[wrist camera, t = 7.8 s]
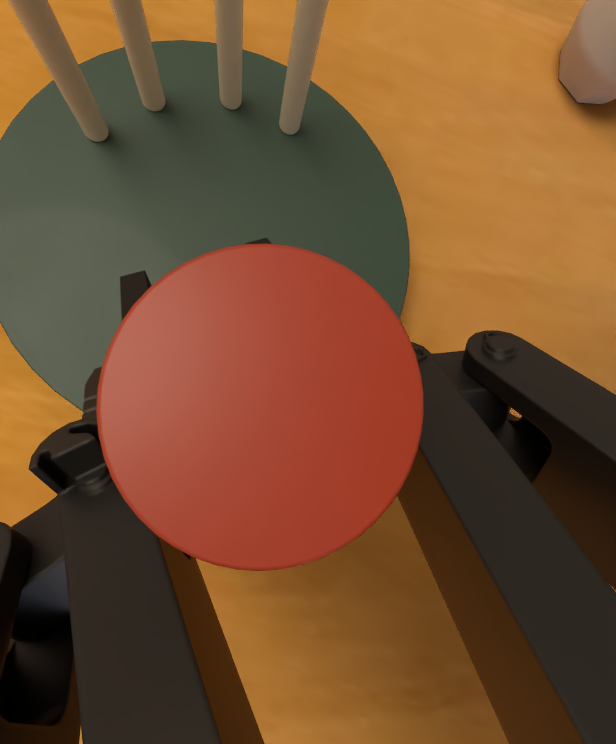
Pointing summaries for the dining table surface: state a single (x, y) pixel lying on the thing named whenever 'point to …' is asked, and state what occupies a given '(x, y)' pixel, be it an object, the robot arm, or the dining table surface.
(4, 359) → the dining table surface
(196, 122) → the drying rack
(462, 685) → the dining table surface
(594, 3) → the salt shaker
